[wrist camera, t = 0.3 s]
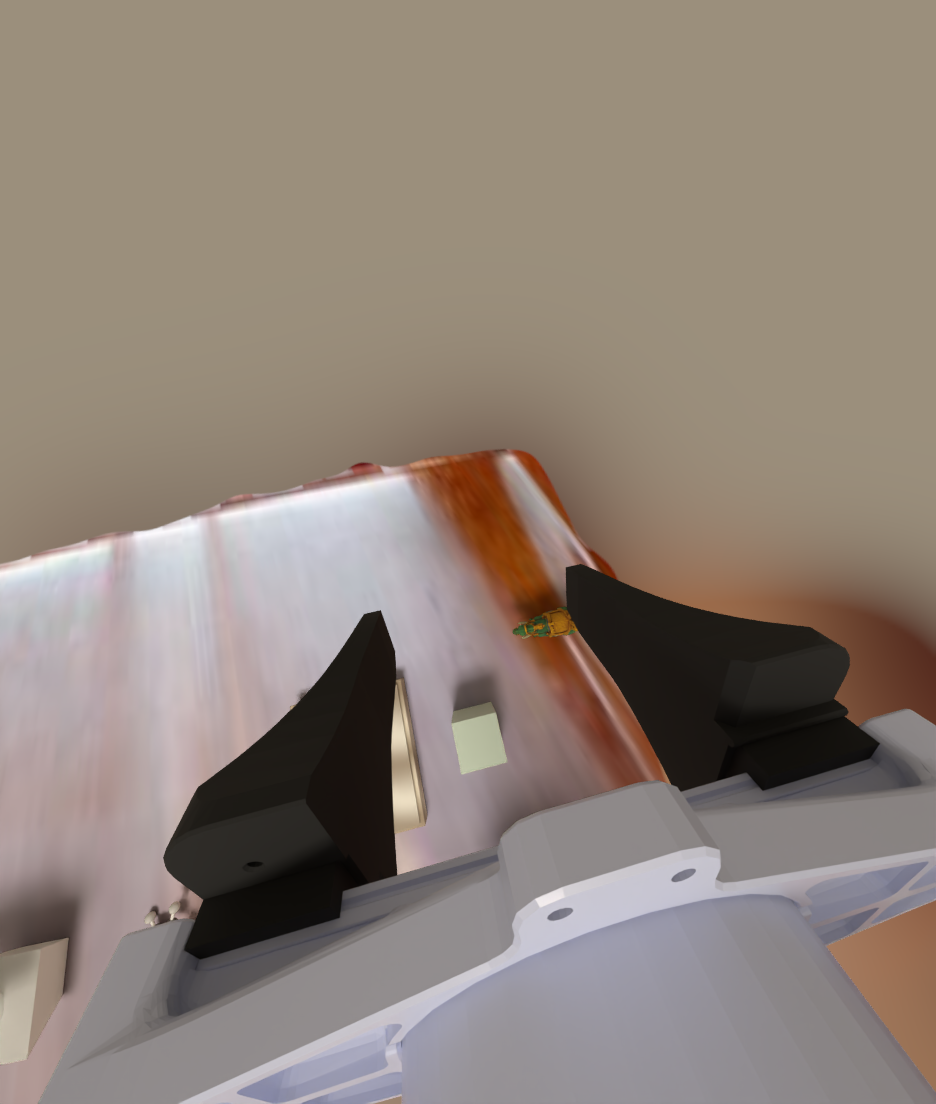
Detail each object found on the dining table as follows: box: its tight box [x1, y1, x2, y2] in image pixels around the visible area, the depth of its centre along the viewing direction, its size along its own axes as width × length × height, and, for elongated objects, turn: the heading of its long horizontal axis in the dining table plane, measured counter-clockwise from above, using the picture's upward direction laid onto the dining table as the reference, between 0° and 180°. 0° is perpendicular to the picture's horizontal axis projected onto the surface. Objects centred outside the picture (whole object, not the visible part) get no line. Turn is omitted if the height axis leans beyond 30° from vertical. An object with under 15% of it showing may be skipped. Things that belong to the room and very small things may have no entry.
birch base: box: [290, 678, 427, 834], centre depth 36 cm, size 14×12×2 cm
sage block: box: [451, 702, 507, 774], centre depth 35 cm, size 4×4×6 cm
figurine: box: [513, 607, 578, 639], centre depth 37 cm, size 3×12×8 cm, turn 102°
